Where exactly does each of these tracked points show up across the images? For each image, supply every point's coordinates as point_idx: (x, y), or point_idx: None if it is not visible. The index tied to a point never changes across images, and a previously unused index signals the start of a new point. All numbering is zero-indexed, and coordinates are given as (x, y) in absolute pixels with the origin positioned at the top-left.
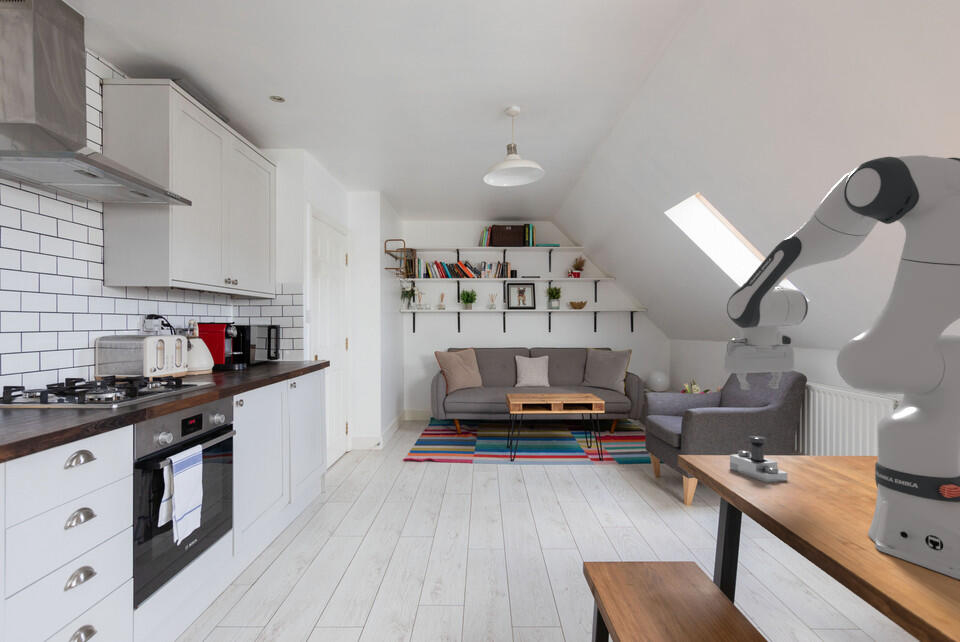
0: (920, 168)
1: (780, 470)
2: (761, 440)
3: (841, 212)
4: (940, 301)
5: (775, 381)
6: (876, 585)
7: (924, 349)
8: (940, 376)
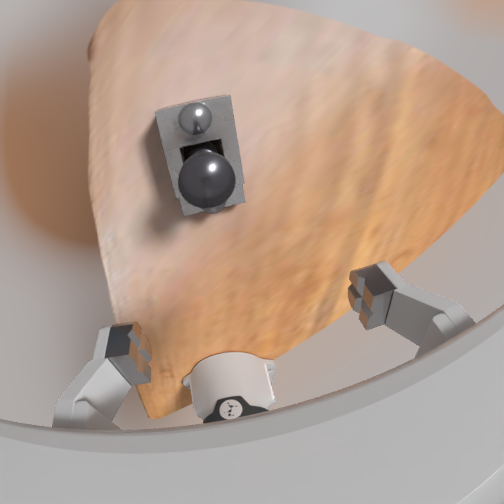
0: None
1: (242, 185)
2: (204, 206)
3: None
4: None
5: (389, 321)
6: (145, 402)
7: None
8: None
